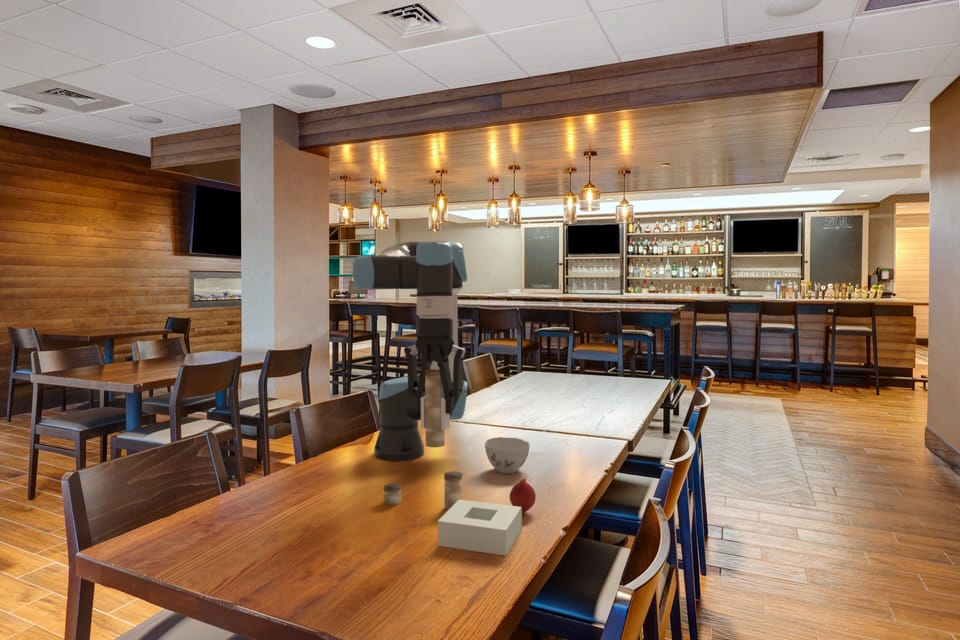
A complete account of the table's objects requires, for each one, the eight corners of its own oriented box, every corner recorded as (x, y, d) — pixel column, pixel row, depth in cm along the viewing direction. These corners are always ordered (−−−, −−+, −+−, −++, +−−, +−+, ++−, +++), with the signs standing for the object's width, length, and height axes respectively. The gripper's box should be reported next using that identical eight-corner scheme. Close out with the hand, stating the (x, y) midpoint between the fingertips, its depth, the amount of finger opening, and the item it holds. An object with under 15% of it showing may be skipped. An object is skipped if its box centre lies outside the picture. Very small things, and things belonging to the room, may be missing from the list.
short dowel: (381, 504, 134) (380, 487, 134) (389, 498, 138) (388, 482, 137) (396, 506, 132) (396, 489, 132) (404, 500, 136) (404, 483, 136)
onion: (528, 520, 124) (528, 484, 124) (505, 514, 127) (505, 479, 127) (539, 511, 129) (539, 476, 129) (517, 506, 132) (517, 472, 132)
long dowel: (422, 446, 118) (421, 370, 118) (430, 441, 122) (429, 367, 122) (440, 448, 117) (439, 371, 116) (447, 443, 121) (447, 368, 120)
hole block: (438, 545, 112) (437, 520, 112) (459, 521, 123) (458, 499, 123) (506, 555, 108) (506, 530, 107) (521, 530, 119) (521, 506, 119)
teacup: (516, 481, 150) (516, 451, 149) (476, 473, 156) (475, 444, 156) (541, 466, 162) (541, 438, 162) (502, 459, 169) (502, 432, 168)
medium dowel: (441, 510, 130) (441, 475, 130) (448, 503, 134) (448, 470, 133) (458, 512, 129) (458, 477, 128) (464, 505, 133) (464, 472, 132)
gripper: (389, 317, 118) (390, 428, 119) (466, 318, 112) (466, 435, 113) (406, 316, 125) (407, 421, 126) (479, 316, 119) (479, 427, 120)
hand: (435, 427), depth 119 cm, fingers closed on long dowel, 4 cm apart
